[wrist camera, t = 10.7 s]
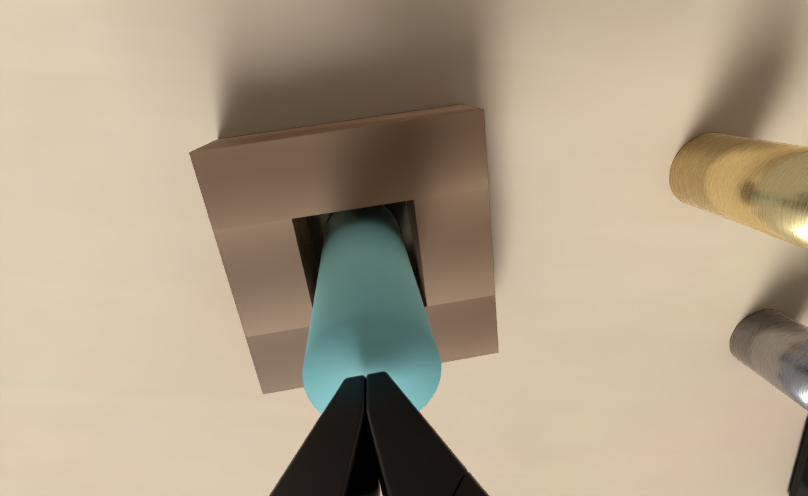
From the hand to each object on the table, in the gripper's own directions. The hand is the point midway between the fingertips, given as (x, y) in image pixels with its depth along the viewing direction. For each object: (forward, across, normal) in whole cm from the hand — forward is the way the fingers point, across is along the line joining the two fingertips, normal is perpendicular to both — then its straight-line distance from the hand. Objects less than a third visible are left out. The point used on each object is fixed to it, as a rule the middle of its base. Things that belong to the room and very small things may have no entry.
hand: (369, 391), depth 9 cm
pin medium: (+10, -14, 0) cm, 17 cm away
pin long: (+10, 0, 0) cm, 10 cm away
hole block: (+10, 0, 0) cm, 10 cm away
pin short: (+10, -18, +8) cm, 23 cm away
